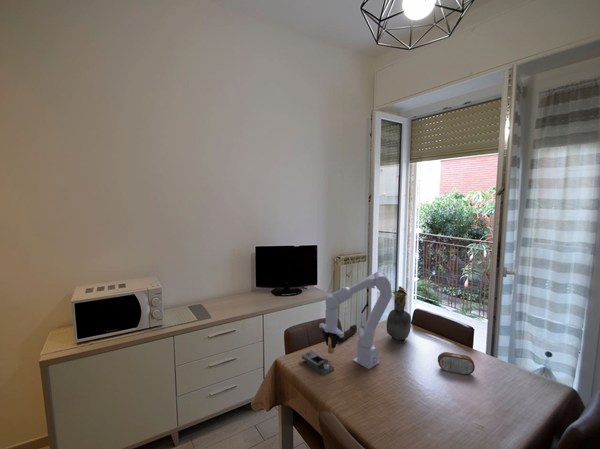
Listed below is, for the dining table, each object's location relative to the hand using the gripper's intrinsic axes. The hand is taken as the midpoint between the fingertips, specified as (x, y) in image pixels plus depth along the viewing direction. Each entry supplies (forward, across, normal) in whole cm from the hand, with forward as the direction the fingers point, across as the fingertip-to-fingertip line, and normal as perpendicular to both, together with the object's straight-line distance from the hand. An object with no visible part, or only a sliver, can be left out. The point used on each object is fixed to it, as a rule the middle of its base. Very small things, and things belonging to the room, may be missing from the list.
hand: (331, 346), depth 146 cm
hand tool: (+7, -11, +25) cm, 28 cm away
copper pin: (+3, 0, 0) cm, 3 cm away
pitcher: (+7, +10, +45) cm, 46 cm away
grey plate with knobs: (+6, 0, -9) cm, 11 cm away
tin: (+7, +44, +36) cm, 57 cm away
